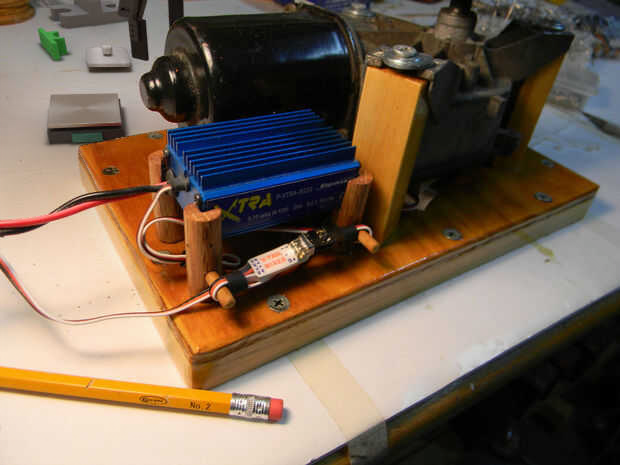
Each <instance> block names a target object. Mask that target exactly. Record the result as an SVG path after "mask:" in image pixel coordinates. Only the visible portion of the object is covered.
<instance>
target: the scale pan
mask: <svg viewBox="0 0 620 465" xmlns="http://www.w3.org/2000/svg"><path fill="white" fill-rule="evenodd" d="M49 97H50V98H49V106H48V116H47V129H48V128H68V127H93V126H117V125H122V124H121V116H120V107H119V99H120V98H119V93H116V92H114V93H109V92H108V93H67V94H66V93H64V94H63V93H61V94H60V93H59V94H58V93H57V94H50V96H49Z"/></svg>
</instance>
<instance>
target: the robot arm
mask: <svg viewBox="0 0 620 465" xmlns="http://www.w3.org/2000/svg"><path fill="white" fill-rule="evenodd" d="M147 4H148V0H118V6H117V7H118V16H119V17H124V18H126V19H127V20H126V21H127V24H128V25H127V26H128V34H129V42H130V52H131V58H132V59H135V60H139V61H144V62H148V61H149V60H150V56H149V54H150V53H149V44H148V43H149V42H148V27H147V19H145V18H144V16H145V10H146V7H147ZM167 10H168V11H167V12H168V27H169V28H168V29H170V27H171V26H172V25H173V23H174V22H175V21H176V20H178V19H180V18H182V17H184V18H185V4H184V0H167Z"/></svg>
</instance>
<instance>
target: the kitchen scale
mask: <svg viewBox="0 0 620 465" xmlns="http://www.w3.org/2000/svg"><path fill="white" fill-rule="evenodd" d="M118 99H119V107H120V116H121V124H122V125H117V126H93V127H68V128H48V127H47V128H46V129H47V131H46V132H47V137H48V141H49V142H48V143H49V144H66V143H68V144H69V143H73V144H75V143H94V142H106V141H105V140H109V141H112V140H111V139H116V138H121V137H125V138H126V135H125V128H124V119H123V110H122V103H121V98H118Z"/></svg>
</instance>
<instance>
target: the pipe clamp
mask: <svg viewBox="0 0 620 465" xmlns="http://www.w3.org/2000/svg"><path fill="white" fill-rule="evenodd" d="M37 32H38V37H39V41H40V45H41V46H42V47H43V48H44V50H46V52H47V53H48V54H49V55H50V56H51V57H52V58H53V59H54V61H61V60H62V59H61V56H65V55H69V54H68V49H67V42H66V39H65V37H64V36H60V32H59V31H58V30H52V31H46V29H44V28H43V27H37Z"/></svg>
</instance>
